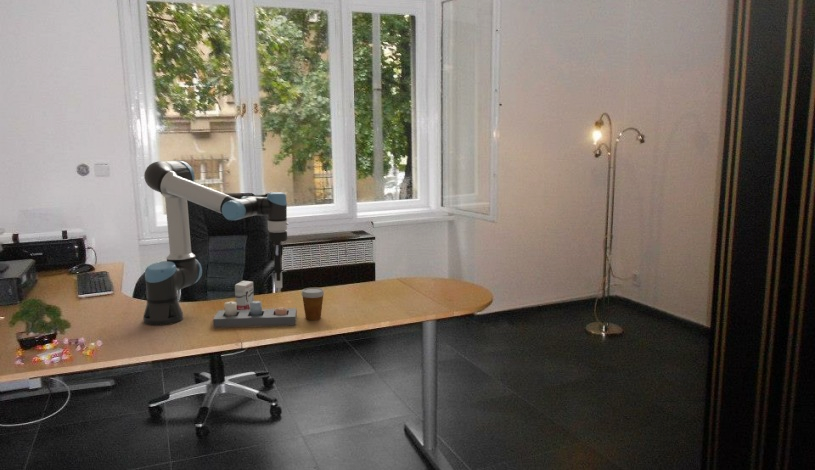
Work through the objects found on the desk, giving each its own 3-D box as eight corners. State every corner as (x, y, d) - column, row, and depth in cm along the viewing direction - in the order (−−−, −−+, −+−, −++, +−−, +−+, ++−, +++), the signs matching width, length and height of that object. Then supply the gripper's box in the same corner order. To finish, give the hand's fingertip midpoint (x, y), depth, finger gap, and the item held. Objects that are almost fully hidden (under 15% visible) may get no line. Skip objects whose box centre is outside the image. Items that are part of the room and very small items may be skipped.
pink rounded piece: (275, 322, 241) (274, 310, 240) (276, 319, 246) (275, 307, 245) (286, 322, 242) (286, 310, 241) (287, 318, 246) (287, 306, 246)
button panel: (213, 327, 234) (213, 319, 234) (218, 318, 246) (218, 310, 246) (295, 325, 239) (295, 316, 238) (296, 316, 251) (296, 308, 250)
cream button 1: (224, 316, 238) (223, 304, 237) (226, 313, 243) (225, 301, 242) (236, 316, 239) (235, 304, 238) (237, 313, 243) (237, 301, 242)
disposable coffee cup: (305, 322, 242) (305, 294, 240) (298, 316, 251) (298, 288, 249) (327, 319, 247) (327, 291, 245) (320, 313, 255) (319, 286, 253)
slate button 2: (249, 316, 239) (249, 303, 239) (251, 312, 244) (250, 300, 243) (261, 315, 240) (260, 303, 239) (262, 312, 245) (262, 300, 244)
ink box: (245, 312, 255) (244, 285, 253) (235, 311, 256) (234, 285, 254) (254, 306, 264) (253, 280, 262) (244, 305, 265) (243, 280, 263)
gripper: (286, 233, 232) (287, 291, 236) (288, 228, 244) (289, 283, 248) (266, 233, 231) (267, 292, 235) (269, 228, 243) (270, 283, 247)
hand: (278, 287), depth 242 cm, fingers closed
